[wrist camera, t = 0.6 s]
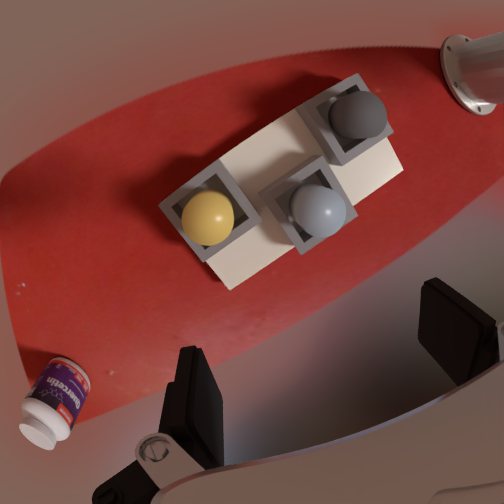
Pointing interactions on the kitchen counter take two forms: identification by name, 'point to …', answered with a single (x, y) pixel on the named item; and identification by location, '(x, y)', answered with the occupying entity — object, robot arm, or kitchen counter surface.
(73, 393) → the pill bottle
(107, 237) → the kitchen counter surface
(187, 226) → the mustard button
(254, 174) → the console
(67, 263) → the kitchen counter surface
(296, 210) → the slate button
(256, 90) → the kitchen counter surface
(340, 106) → the charcoal button
